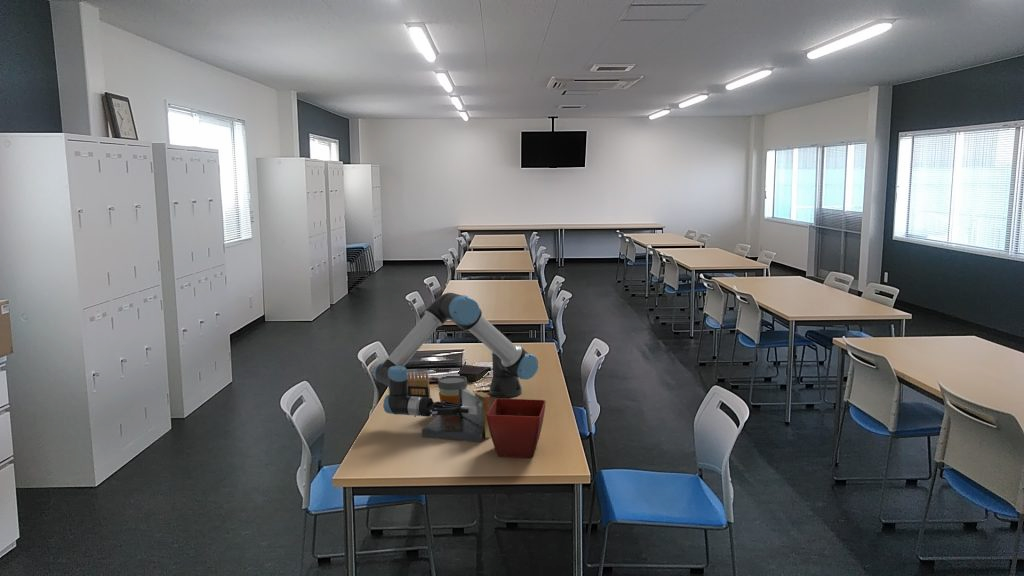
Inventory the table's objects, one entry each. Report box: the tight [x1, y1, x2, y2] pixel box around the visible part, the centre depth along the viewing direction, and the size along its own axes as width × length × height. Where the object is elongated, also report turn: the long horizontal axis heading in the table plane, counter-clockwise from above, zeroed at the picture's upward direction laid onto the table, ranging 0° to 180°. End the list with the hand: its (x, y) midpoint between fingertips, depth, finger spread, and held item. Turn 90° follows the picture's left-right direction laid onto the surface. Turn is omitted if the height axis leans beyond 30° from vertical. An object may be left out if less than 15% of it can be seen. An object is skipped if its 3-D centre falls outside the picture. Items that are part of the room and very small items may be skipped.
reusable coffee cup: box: [437, 376, 468, 415], centre depth 298 cm, size 12×13×15 cm
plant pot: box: [487, 397, 546, 459], centre depth 253 cm, size 19×19×17 cm
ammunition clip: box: [407, 371, 431, 398], centre depth 323 cm, size 11×2×12 cm, turn 77°
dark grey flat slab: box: [421, 415, 485, 443], centre depth 277 cm, size 20×24×3 cm
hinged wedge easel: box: [459, 388, 482, 426], centre depth 278 cm, size 20×3×11 cm, turn 32°
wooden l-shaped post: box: [474, 391, 492, 440], centre depth 270 cm, size 3×7×16 cm, turn 30°
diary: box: [432, 364, 492, 383], centre depth 356 cm, size 19×25×5 cm
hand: (477, 410), depth 272 cm, fingers closed
